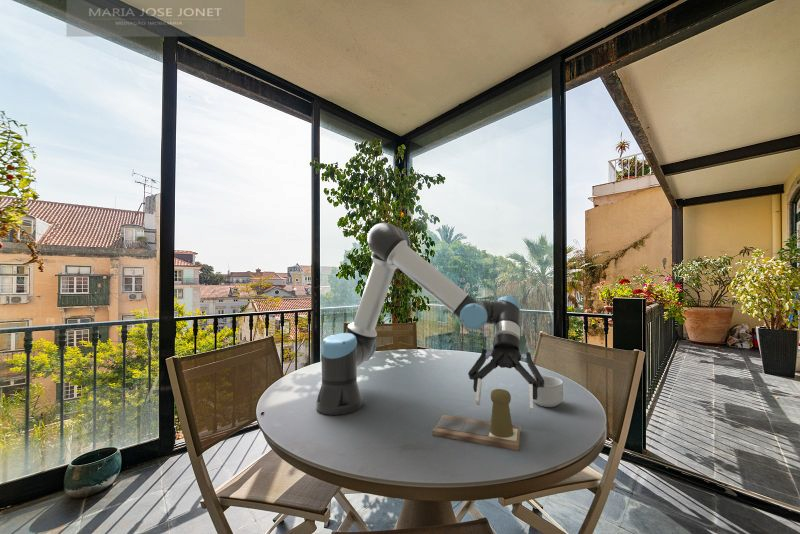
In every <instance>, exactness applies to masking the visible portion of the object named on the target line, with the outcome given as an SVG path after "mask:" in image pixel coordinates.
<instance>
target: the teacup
mask: <svg viewBox="0 0 800 534" xmlns="http://www.w3.org/2000/svg"><path fill="white" fill-rule="evenodd" d="M541 376H542V378H543V379H544V387H543V388H542V387H539V388H538V389H537V395H538V398H537V400H535V399H533V403H534V402H535V404H537V405H538V406H540V407H546V408H553V407H557V406H558V405H560V404H561V403H562V402H563V400H564V385H563V384H564V381H563V380H562V379H560V378H558V377H555V376H551V375H541ZM532 377H533V378H534V379H535V377H534V375H533V376H532ZM535 380H536V379H535ZM527 383H528V382H527ZM528 390H529V391H528V393H529V394H530V384H529V383H528Z"/></svg>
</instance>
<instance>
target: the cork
mask: <svg viewBox="0 0 800 534" xmlns="http://www.w3.org/2000/svg"><path fill="white" fill-rule="evenodd" d="M511 397H512V395H511V394H510V392H509V391H508V390H506V389H503V388H496V389H492V391H491V392H490V400H491V402H492V406H491V408H492V409H491V415H490V416H491V418H490V422H491V425H490V432H491V433H492V434H493V435H495V436H498V437H503V438H507V437H511V436H513V428H512V425H513V421H512V417H511V410H510V403H511V401H512V398H511Z"/></svg>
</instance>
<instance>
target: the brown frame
mask: <svg viewBox="0 0 800 534" xmlns="http://www.w3.org/2000/svg"><path fill="white" fill-rule="evenodd" d="M490 425H491V421H487V420H482V419H475V418H474V419H473V418H468V417H461V416H454V415H447V414H442V416H441V417H440V419H439V420H438V422H437V423H436V425H435V426H434V428H433V429H432V436H435V437H441V438H446V439H453V440H459V441H463V442H469V443H473V444H474V443H475V444H479V445H480V444H481V445H486V446H491V447H496V448H501V449H507V450H513V451H520V441H521V426H520V425H514V424H512V428H513V436H511V437H507V438H503V437H498V436H495V435H493V434H492V433H491V432H490Z"/></svg>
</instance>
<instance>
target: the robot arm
mask: <svg viewBox="0 0 800 534" xmlns="http://www.w3.org/2000/svg"><path fill="white" fill-rule="evenodd" d="M366 237H367V239H366V241H367V245H368V247H369V249H370V251H371V255H370V258H371V260H372V266H371V269H370V272H369V274H368V277H367V280H366V283H365V285H364V289H363V292H362V296H361V299H360V302H359V305H358V308H357V311H356V313H355V316H354V319H353V321H352V322H351V323H349V324H347V328H346V329H345V330H346V331H345V332H341V333H340V332H339V333H336V334H331V335H328V336H326V337H324V339H323V340H322V343H321V348H320V349H321V350H320V353H321V386H320V389H319V391H318V395H317V399H316V411H317V410H318V411H317V412H318V413H320V412H321V413H320V414H323V415H327V414H329V415H328V416H339V414H342V415H347V413H348V414H351V413H353V412H356V411H358V410H359V409H360V408H362V406H363V397H362V394H361V393H362V392H361V390H360V387H359V384H358V381H357V380H358V376H357V375H358V374H357V373H358V372H357V371H358V367H359V366H360V365H362V364H364V363H366V362H368V361H369V360H370V359H371V358H372V357H373V355H374V354H375V351H376V349H377V341H376V339H377V336H378V332H377V330H376V327H377V324H378V321H379V318H380V315H381V312H382V309H383V306H384V303H385V300H386V297H387V294H388V292H389V288H390V285H391V283H392V280H393V277H394V274H395V271H396V270H397V269H398V270H400V271H401V272H402V273H404V274H405V275H406V276H407V277H408V278H410V280H412V281H413V282H414V283H415V284H417V285H418V286H419V287H421V288H422V289H423V290H424V291H425V292H427V293H428V294H429V295H430V296H431V297H432V298H434V299H435V300H436V301H437V302H439V304H441V305H442V306H444V307H445V309H448V310H449V311H450V312H451V313H452V314H454V316H455V317H457V318H458V319H459V320H460V322H461V324H462V325H463V326H464V327H465V328H467V329H468V330H478V329H480V328H482V327H483V326H485V325H486V324H489V325H494V335H493V337H494V338H493V346H492V347H493V349H492V351H489V350H487V349H486V348H483V349H482V350H481V354H480V356H479V357H478V359H476V362H475V363H474V364H473V366H472V367H471V368H470V369H469V371H468V373H467V374H468V378H469V380H470V381H471V380H473V387H472V388H473V392H474V393H476V394H475V404H476V406H481V405H480V404H481V396H482V395H481V394H482V380H483V379H484V378H486V376H487V375H488V374H490V373H491V372H492V371H493V370H495V369H497V368H498V367H500V368H501V369H502V368H507V369H512V368H514V369H515V371H516V372H518V373H519V375H521V377H522V378H524V380H525V381H526V382H527V383H529V384H530V393H529V413H530V414H534V401H533V399H535V400H537V398H538V395H537V389H538V388H539V387H542V388H543V387H544V379H543V378H542V376H543V375H541V373H540V371H539V370H538V368H537V366H536V364H535V363H534V360H533V359H532V354H531V352H529V351H528V352H526V353H523V354H522V353H521V352H520V350H521V349H520V343H521V342H520V340H521V336H520V335H521V305H520V302H519V299H517V298H516V297H514V296H512V295H505V296H501V297H499V298H497V301H489V300H481V299H475V298H473V297H472V296H471V295H469V294H468V293H467V292H466V291H465V290H463V289H462V288H461V287H459V286H458V285H457V284H456V283H455V282H453V281H452V280H451V279H450V278H448V277H447V276H446V275H445V274H443V273H442V272H441V271H440V270H439V269H437V268H436V267H435V266H433V265H432V264H431V263H430V262H428V261H427V260H426V259H425V258H423V257H422V256H421V255H420V254H419V253H418V252H416V251H415V250H413V249H412V248H411V240H410V237H409V235H408V233H406V231H405V230H404V229H403V228H399V227H398V226H396V225H393V224H391V223H389V222H379V223H376V224H375V225H373V226H372V227H370V229H369V232H368V234H367V236H366ZM490 357H491V358H492V359H490V360H489V362H488V363H486V361H487V360H488V359H489V358H490ZM521 360H523V362H525V363H526V364H527V367H528V368H529V370H530V371H531V374H530V372H529V371H528V370H527V369H526V368H525V367H524V366H523V365H522V364H521V362H520V361H521ZM485 363H486V365H485ZM483 365H485V366H483ZM532 375H533V376H534V377H535V379H536V380H535V379H534V378H533V376H532ZM529 384H528V385H529Z"/></svg>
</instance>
